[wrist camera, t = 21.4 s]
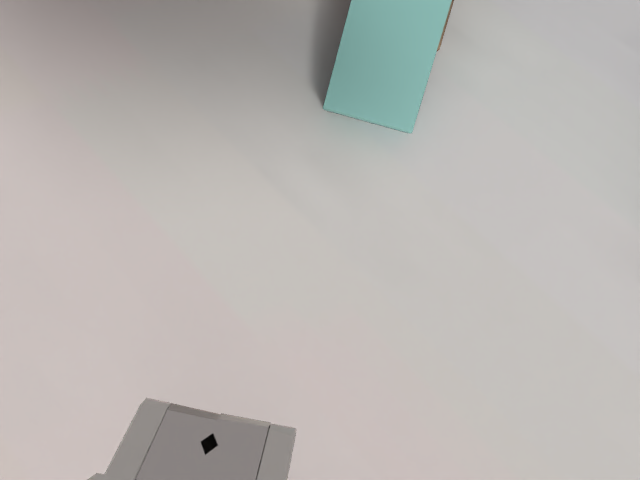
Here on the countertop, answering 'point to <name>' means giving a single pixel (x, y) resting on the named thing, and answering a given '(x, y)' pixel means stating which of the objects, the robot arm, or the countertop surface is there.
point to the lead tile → (386, 60)
